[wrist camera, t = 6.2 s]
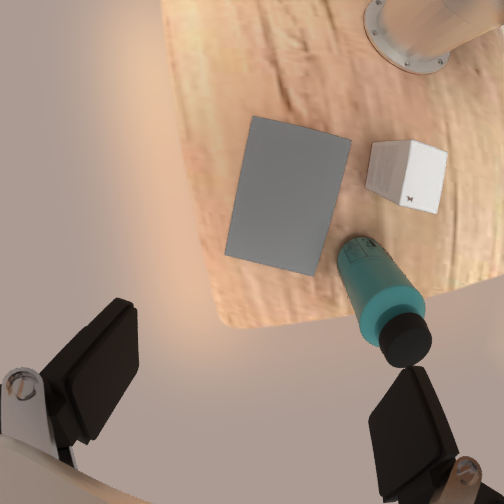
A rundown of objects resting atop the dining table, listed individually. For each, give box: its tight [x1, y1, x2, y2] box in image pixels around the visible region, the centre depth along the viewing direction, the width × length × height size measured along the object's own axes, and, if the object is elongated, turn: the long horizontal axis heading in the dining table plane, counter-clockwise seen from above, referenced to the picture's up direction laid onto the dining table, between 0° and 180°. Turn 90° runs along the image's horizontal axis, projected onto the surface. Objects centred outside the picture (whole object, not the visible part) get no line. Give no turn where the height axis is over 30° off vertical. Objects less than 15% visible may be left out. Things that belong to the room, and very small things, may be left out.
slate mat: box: [225, 116, 352, 277], centre depth 34 cm, size 18×12×1 cm, turn 168°
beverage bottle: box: [336, 237, 432, 368], centre depth 27 cm, size 6×7×20 cm
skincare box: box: [365, 139, 448, 214], centre depth 26 cm, size 6×4×12 cm
